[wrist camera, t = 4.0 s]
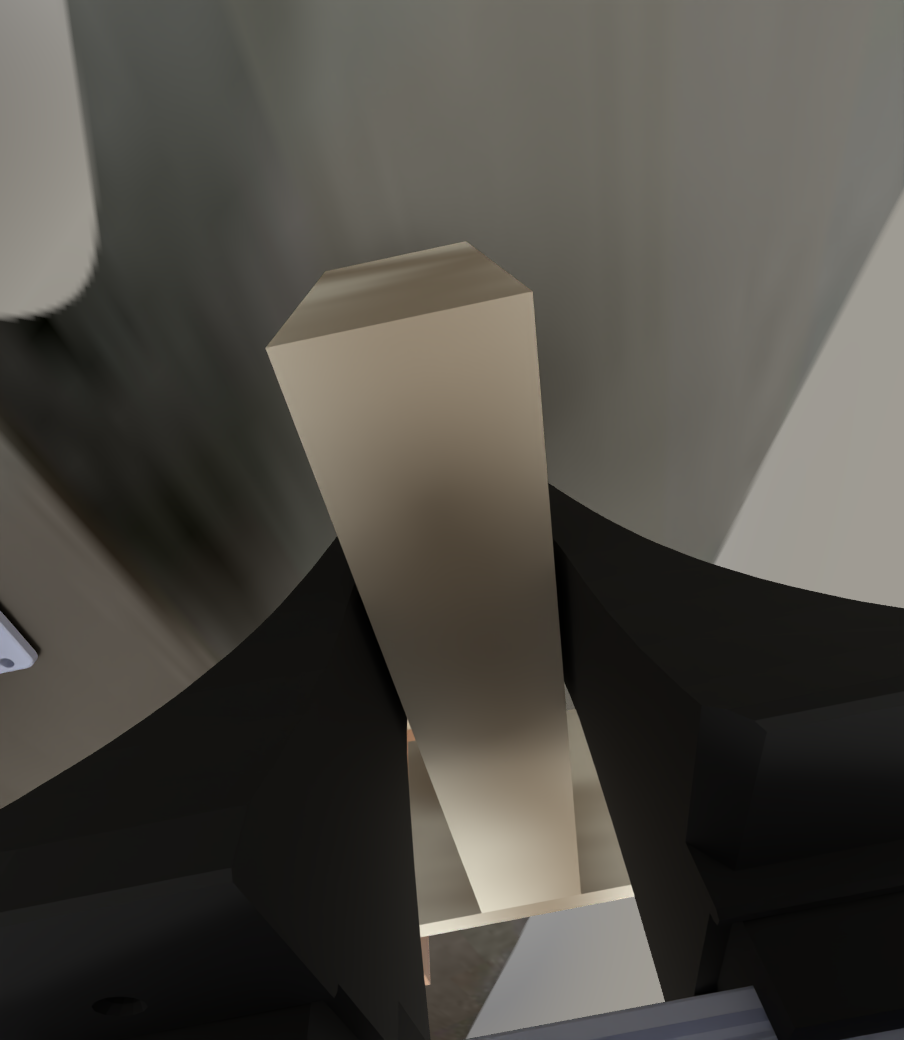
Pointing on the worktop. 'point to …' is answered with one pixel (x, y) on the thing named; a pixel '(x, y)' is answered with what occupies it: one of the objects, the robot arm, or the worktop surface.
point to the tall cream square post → (455, 571)
